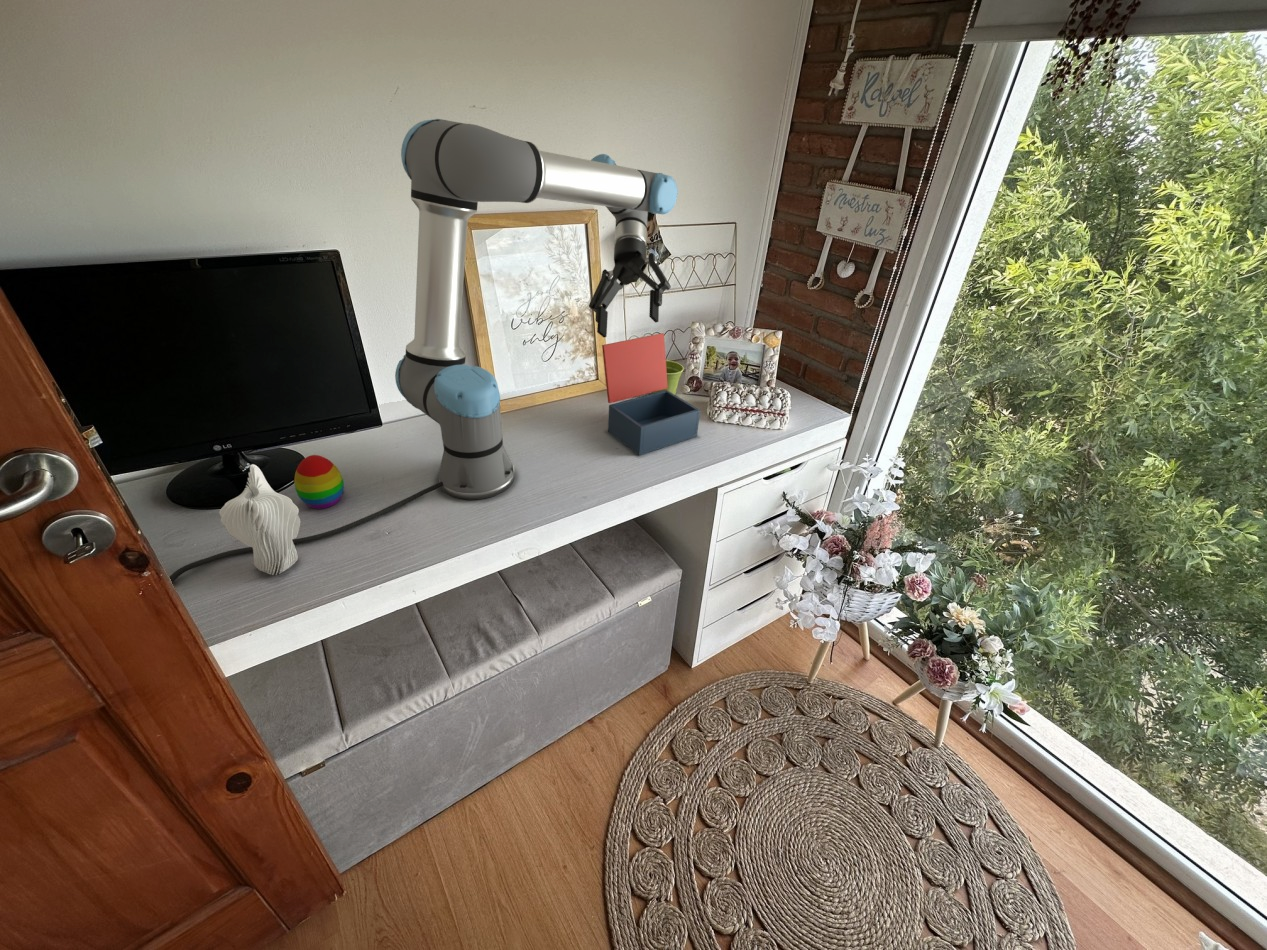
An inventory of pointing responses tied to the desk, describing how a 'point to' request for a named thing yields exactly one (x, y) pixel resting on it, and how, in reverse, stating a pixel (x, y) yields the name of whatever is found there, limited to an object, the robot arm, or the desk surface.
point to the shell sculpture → (264, 523)
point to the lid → (635, 367)
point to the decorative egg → (318, 482)
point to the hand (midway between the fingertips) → (627, 327)
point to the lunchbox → (653, 421)
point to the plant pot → (672, 375)
